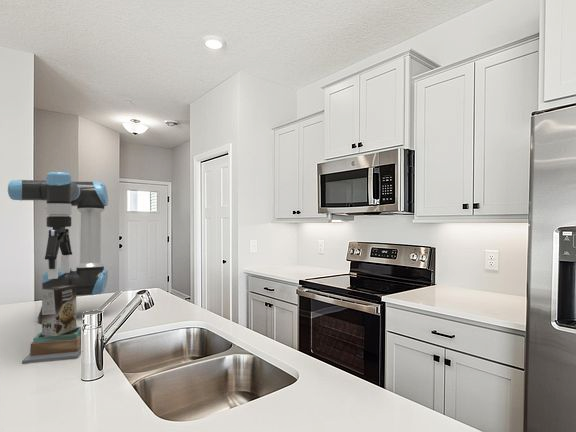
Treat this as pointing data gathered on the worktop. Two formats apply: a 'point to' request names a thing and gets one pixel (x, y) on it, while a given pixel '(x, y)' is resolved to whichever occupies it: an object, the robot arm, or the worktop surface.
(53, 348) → the riser
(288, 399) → the worktop surface
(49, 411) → the worktop surface
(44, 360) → the baseplate
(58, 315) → the coffee box
